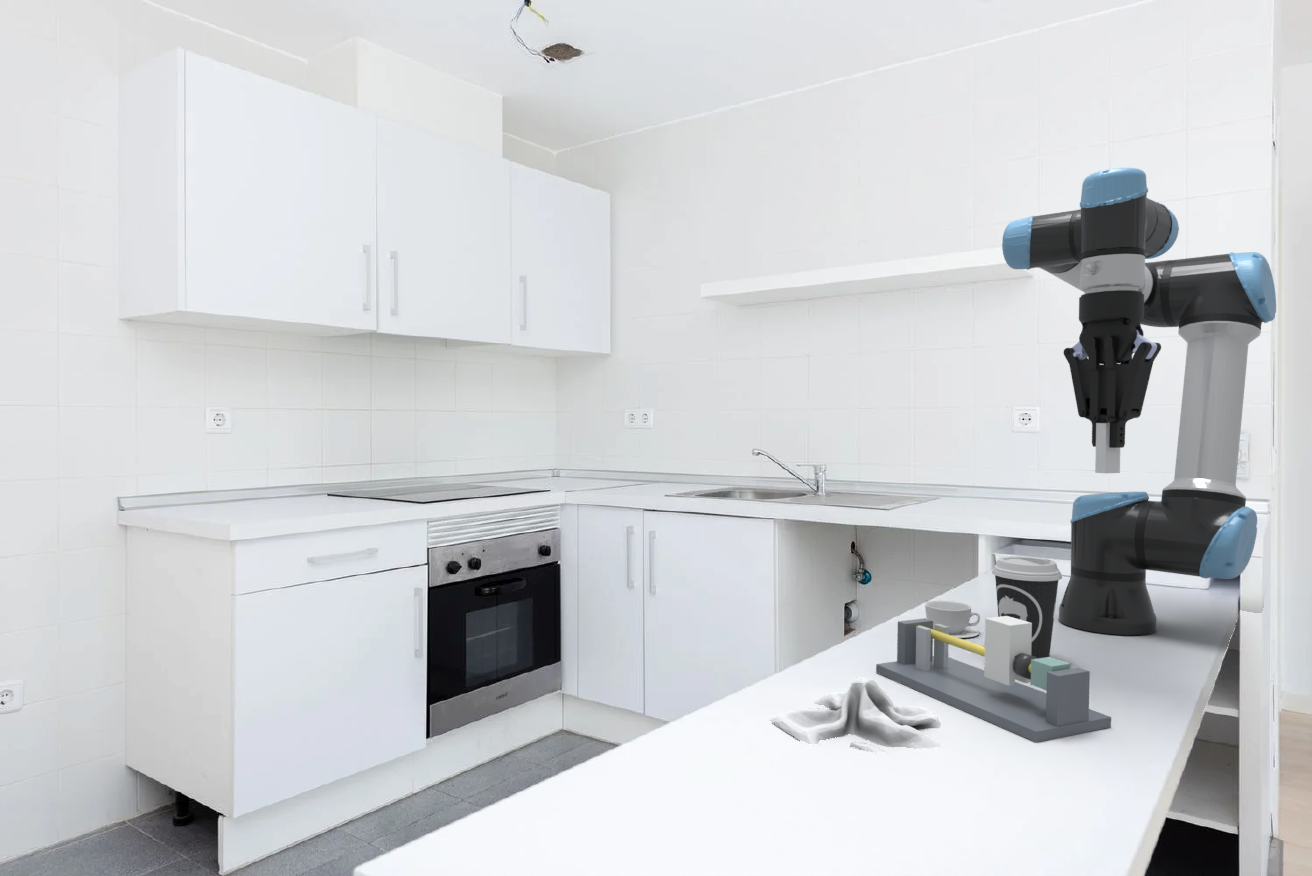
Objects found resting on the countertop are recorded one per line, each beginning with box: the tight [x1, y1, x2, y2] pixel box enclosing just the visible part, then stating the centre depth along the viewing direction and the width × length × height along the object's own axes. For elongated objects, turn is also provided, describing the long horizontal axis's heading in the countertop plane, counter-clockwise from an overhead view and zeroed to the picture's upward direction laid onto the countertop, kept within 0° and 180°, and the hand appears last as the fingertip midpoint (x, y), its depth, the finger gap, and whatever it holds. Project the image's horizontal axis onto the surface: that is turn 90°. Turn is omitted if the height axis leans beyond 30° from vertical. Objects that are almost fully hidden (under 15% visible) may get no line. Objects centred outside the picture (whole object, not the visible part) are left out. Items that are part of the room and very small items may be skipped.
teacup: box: [924, 600, 981, 639], centre depth 146 cm, size 10×10×5 cm
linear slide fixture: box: [875, 617, 1112, 743], centre depth 112 cm, size 28×12×8 cm, turn 24°
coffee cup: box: [991, 555, 1063, 659], centre depth 128 cm, size 10×10×15 cm
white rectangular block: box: [983, 616, 1032, 686], centre depth 108 cm, size 4×4×7 cm
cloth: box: [769, 676, 942, 754], centre depth 101 cm, size 22×19×6 cm
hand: (1107, 472), depth 114 cm, fingers closed
